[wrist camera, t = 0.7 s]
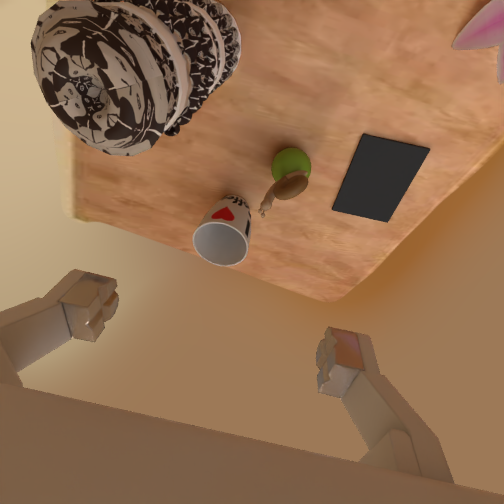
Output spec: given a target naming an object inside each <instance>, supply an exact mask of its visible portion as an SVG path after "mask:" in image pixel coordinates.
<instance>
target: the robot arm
mask: <svg viewBox="0 0 504 504" xmlns="http://www.w3.org/2000/svg"><path fill="white" fill-rule="evenodd" d="M116 287H117V282H116V279H114V278H110V277H106V276H102V275H98V274H94V273H90V272H85V271H81V270H77V269H74V270H72V271H70V272H69V273H68V274H67V275H66V276H65V277H64V278H63V279H62V280H61V281H60V282H59V283H58V284H57V285H56V286H54V288H53V289H51V290H50V291H49V292H48V293H47V294H46V295H45V296H44V297H43V298H35V299H33V300H30V301H28V302H25V303H22V304H20V305H17V306H15V307H12V308H9V309H7V310H4V311H1V312H0V504H504V495H502V494H497V493H492V492H488V491H483V490H479V489H475V488H470V487H466V486H461V485H457V484H454V481H453V478H452V475H451V473H450V470H449V467H448V464H447V461H446V459H445V456H444V453H443V451H442V448H441V445H440V442H439V440H438V438H437V436H436V435H435V434H434V433H433V432H432V431H431V429H430V428H429V427H428V426H427V425H426V423H425V422H424V421H423V420H422V419H421V418H420V416H419V415H418V414H417V413H416V412H415V411H414V409H413V408H412V407H411V406H410V405H409V404H408V402H407V401H406V400H405V399H404V398H403V397H402V396H401V394H400V393H399V392H398V391H397V390H396V388H395V387H394V386H393V385H392V384H391V383H390V382H389V380H388V379H387V378H386V377H385V376H384V375H381V374H380V371H379V368H378V364H377V360H376V356H375V353H374V349H373V345H372V341H371V338H370V336H368V335H365V334H361V333H356V332H351V331H347V330H342V329H338V328H333V327H328V328H327V329H326V331H325V339H323V340H321V341H320V343H319V345H318V349H317V353H316V365H317V366H318V368H319V369H320V371H319V373H318V375H317V381H318V392H319V393H322V394H326V395H330V396H334V397H338V398H341V401H342V403H343V404H344V406H345V408H346V410H347V411H348V413H349V415H350V417H351V418H352V420H353V422H354V424H355V425H356V427H357V429H358V431H359V432H360V434H361V435H362V437H363V439H364V441H365V443H366V445H367V446H368V448H369V450H370V451H369V452H368V453H367V454H366V455H365V456H364V457H363V458H362V459H361V460H360V461H359V462H354V461H350V460H345V459H341V458H336V457H332V456H327V455H322V454H318V453H314V452H309V451H305V450H300V449H296V448H292V447H287V446H283V445H278V444H273V443H269V442H265V441H260V440H256V439H252V438H247V437H243V436H238V435H234V434H229V433H225V432H220V431H216V430H211V429H207V428H203V427H198V426H194V425H189V424H185V423H180V422H175V421H171V420H167V419H162V418H158V417H153V416H149V415H145V414H140V413H135V412H131V411H127V410H122V409H118V408H113V407H109V406H104V405H100V404H95V403H91V402H86V401H82V400H77V399H73V398H68V397H64V396H59V395H55V394H51V393H46V392H42V391H37V390H32V389H28V388H24V387H23V385H22V382H21V380H20V378H19V376H18V374H17V372H19V371H20V370H22V369H24V368H25V367H27V366H28V365H30V364H32V363H33V362H35V361H36V360H38V359H40V358H41V357H43V356H45V355H46V354H48V353H50V352H51V351H53V350H54V349H56V348H58V347H59V346H61V345H62V344H64V343H66V342H67V341H69V340H71V338H75V339H81V340H86V341H91V342H95V341H96V339H97V338H98V337H99V335H100V334H101V332H102V331H103V330H104V328H105V327H104V322H106V321H107V320H110V319H111V318H112V317H113V315H114V314H115V312H116V309H117V307H118V301H119V298H118V294H117V293H116V292H115V289H116Z"/></svg>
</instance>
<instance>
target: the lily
mask: <svg viewBox="0 0 504 504" xmlns="http://www.w3.org/2000/svg"><path fill="white" fill-rule="evenodd" d="M498 45H499V49H498V55H497V78H498V83H499V84H502V83H504V0H491V1H490V2H489V3H488V4H486V5H485V6H484V7H483V8H482V9H481V10H480V11H479V12H478V13H477V14H476V15H475V16H474V17H473V18H472V19H471V20H470V21H469V22H468V24H467V25H466V26H465V27H464V28H463V29H462V31H461V32H460V33H459V34H458V36H457V37H456V39H455V40H454V42H453V44H452V48H453V49H456V50H472V49H483V48H490V47H494V46H498Z"/></svg>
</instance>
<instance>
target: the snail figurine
mask: <svg viewBox="0 0 504 504" xmlns="http://www.w3.org/2000/svg"><path fill="white" fill-rule="evenodd" d="M271 171H272V175H273V178H274V180H275V181H276V182H275V183H274V184H273V185H272V186H271V188H270V189H269V190H268V192H267V193H266V195H265V197H264V200H263V201H262V202H261V208H260V209H259V210H258V212H259V213H262V210H264V211H266V210H269V209H270V208H271V206H272V202H273V200H274V198H275V197H276V198H277V199H280V200H287V199H291V198H293V197H295V196H297V195H299V194H300V193H301V192H303V191H304V190H305V188H306V187H307V185H308V178H309V176H310V173H311V162H310V159H309V157H308V156H307V154H306V153H305V152H303V151H302V150H300V149H298V148H286V149H284V150H282V151H280V152H279V153H278V154H277V155H276V156H275V158H274V160H273V162H272V167H271ZM264 211H263V213H262V214H261V217H262V218H264V217H265V214H264Z"/></svg>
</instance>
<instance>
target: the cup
mask: <svg viewBox="0 0 504 504" xmlns="http://www.w3.org/2000/svg"><path fill="white" fill-rule="evenodd" d="M250 236H251V215H250V211H249V207H248V204H247V202H246V201H245V200H244V199H243V198H241V197H239V196H236V195H228V196H226V197H224V198H223V199H221V200H220V201H218V202H217V203H216V204H215V205H214V206H213V207H212V208H211V209H210V210H209V211H208V212H207V214H206V215H205V216H204V218H203V219H202V221H201V223H200V224H199V226H198V227H197V229H196V231H195V232H194V235H193V245H194V248H195V250H196V251H197V253H198V254H199V255H200V256H201V257H202V258H203V259H205V260H206V261H208V262H210V263H212V264H215V265H219V266H233V265H236V264H238V263H240V262H242V261H243V260H244V259H245V257H246V256H247V253H248V248H249V242H250Z"/></svg>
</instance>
